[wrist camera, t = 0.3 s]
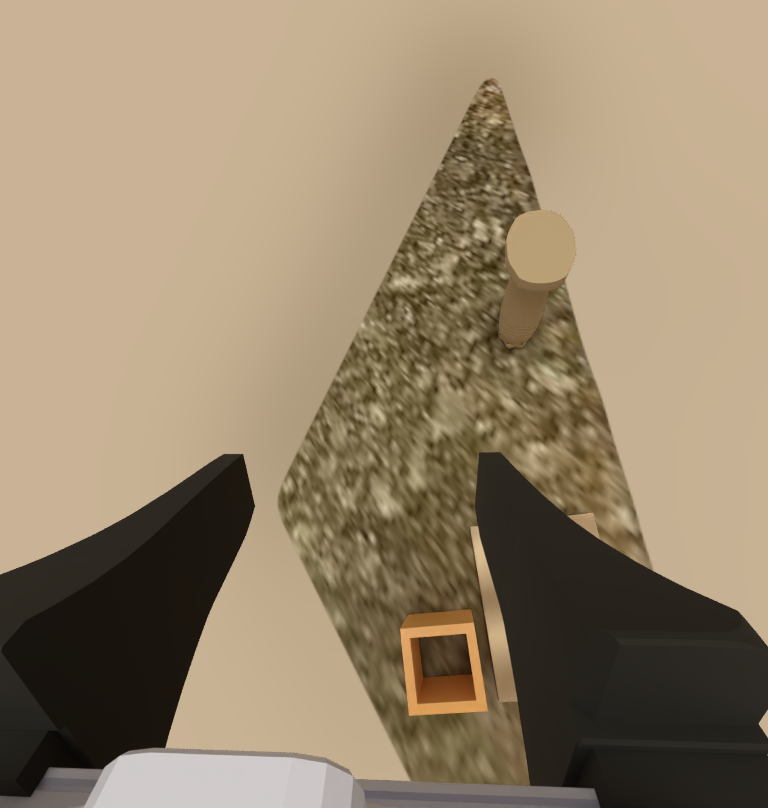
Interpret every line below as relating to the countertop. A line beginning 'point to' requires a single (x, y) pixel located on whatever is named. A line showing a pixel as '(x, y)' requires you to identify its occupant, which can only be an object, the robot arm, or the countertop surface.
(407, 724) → the countertop surface
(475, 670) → the sleeve
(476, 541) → the fitting board
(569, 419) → the countertop surface
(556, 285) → the handle
